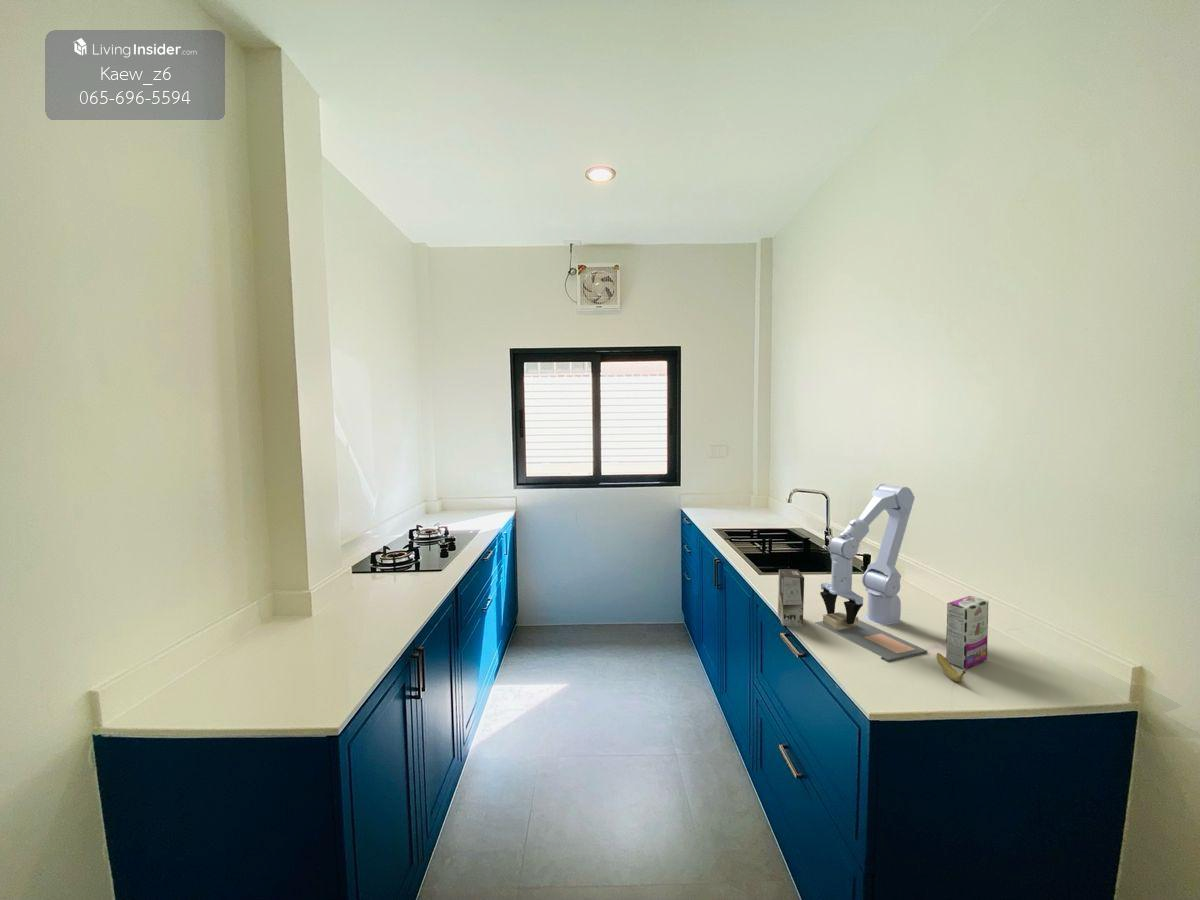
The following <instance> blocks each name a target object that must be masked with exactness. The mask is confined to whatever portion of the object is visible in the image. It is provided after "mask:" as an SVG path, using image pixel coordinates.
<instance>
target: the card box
mask: <svg viewBox="0 0 1200 900" xmlns="http://www.w3.org/2000/svg"><path fill="white" fill-rule="evenodd" d="M822 615H823V616H822V621H823V625H825V626H827V627H829V628H831V629H833V630H835V631H836V630H841V629H847V628H852V627H857V626H858V620H859V616H857V615H856V618H855V621H854V624H847V621H846V610H844V611H837V612H834V613H832V614H827V613H826V614H822Z"/></svg>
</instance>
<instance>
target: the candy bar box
mask: <svg viewBox="0 0 1200 900" xmlns="http://www.w3.org/2000/svg"><path fill="white" fill-rule="evenodd" d="M946 604H947V605H946V606H947V610H946V631H947V641H946V653H945V654H946V656H945V658H946V659H947V661H948V662H949V663H950V665H951V666H956V667H958V668H961V669H963V670H967V669H970V668H973V667H974V666H977V665H980V664H981V663H983V662H985V661H988V637H989V635H988V634H989V632H988V631H989V600H986V599H983V598H981V597H980V598H979V597H975V596H972V595H968V596H965V597H961V598H959V599H955V600H952V601H949V602H947V603H946Z"/></svg>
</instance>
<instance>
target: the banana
mask: <svg viewBox="0 0 1200 900" xmlns="http://www.w3.org/2000/svg"><path fill="white" fill-rule="evenodd" d="M935 656H936V661H937V663H938V665H939V666H940V668H941V670H943V672H944V673H945V674H946V676H947V677H948V678H950V679H951V680H952V681H954V682H956V683H960V682H961V683H962V681H963V679H964V675H965V674H966V673H967V672H966V670H965V669H963V670H961V671H962V673H959V672H958V671H957V670H955V668H954V667H953V665H952V664H950V663H949V662H948V661H947V659H946V656H944V655H942V654H941V653H939V652H937V653H936V655H935Z"/></svg>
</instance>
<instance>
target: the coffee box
mask: <svg viewBox="0 0 1200 900" xmlns="http://www.w3.org/2000/svg"><path fill="white" fill-rule="evenodd" d="M777 597H778V598H777V599H778V602H777V604H778V605H777V610H778V611H777V616H778V619H779V620H780V623H781V626H786V627H797V628H803V627H804V604H805V603H804V602H805V601H804V598H805V576H803V574H802V573H801V571H800V570H799V569H787V568H784V569H782V568H780V569H778V596H777Z"/></svg>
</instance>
